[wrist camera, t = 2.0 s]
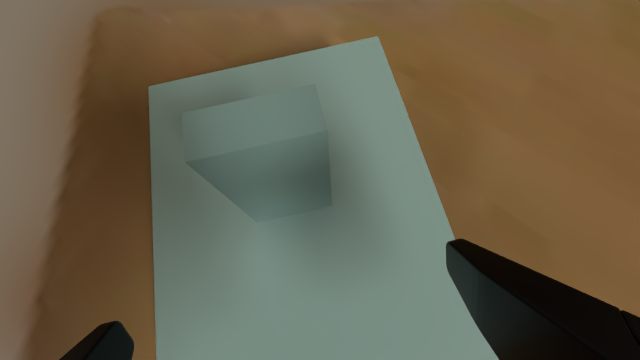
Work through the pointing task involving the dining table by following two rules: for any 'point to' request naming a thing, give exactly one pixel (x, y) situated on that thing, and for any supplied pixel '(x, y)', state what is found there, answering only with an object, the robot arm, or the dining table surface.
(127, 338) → the robot arm
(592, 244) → the dining table surface
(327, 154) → the lid
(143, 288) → the dining table surface
